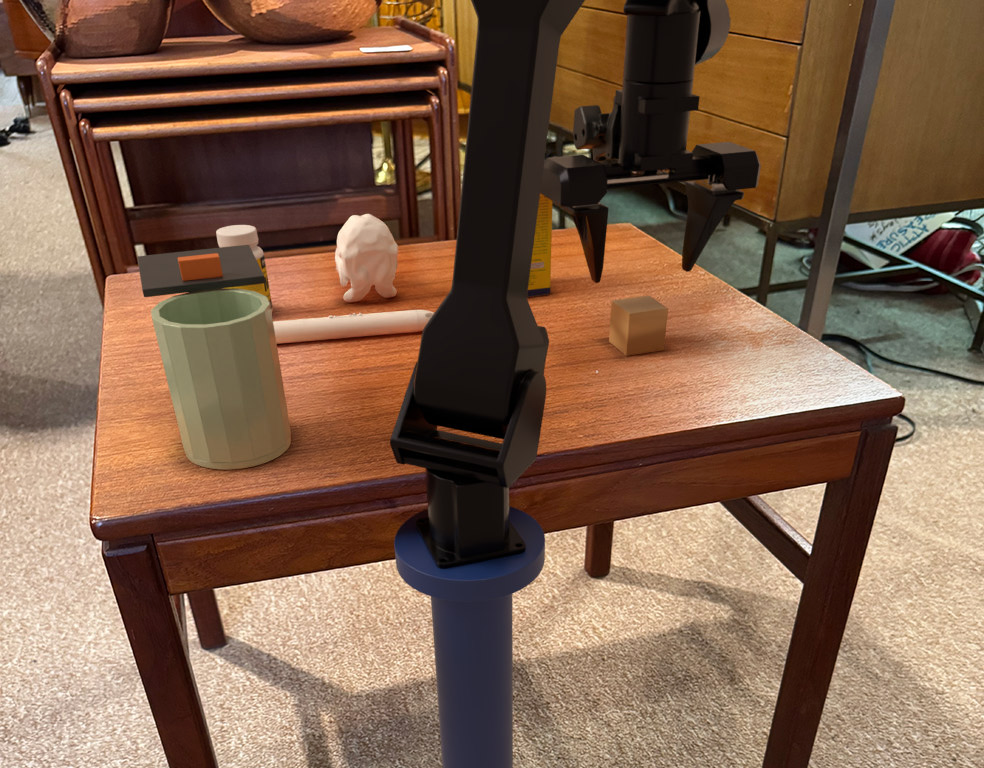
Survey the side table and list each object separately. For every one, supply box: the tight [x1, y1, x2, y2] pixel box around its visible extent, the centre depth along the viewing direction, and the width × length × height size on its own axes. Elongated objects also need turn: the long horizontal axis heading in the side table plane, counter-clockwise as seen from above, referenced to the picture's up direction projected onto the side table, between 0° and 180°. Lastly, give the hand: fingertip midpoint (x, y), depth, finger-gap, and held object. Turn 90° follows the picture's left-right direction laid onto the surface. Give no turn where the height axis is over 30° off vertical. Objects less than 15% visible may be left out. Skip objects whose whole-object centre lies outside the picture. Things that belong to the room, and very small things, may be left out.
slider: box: [136, 245, 265, 298], centre depth 73 cm, size 9×9×2 cm
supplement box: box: [527, 194, 554, 298], centre depth 101 cm, size 6×6×11 cm
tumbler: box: [150, 288, 292, 471], centre depth 72 cm, size 8×8×11 cm
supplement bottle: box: [215, 224, 274, 313], centre depth 97 cm, size 5×5×8 cm
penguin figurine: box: [334, 213, 399, 303], centre depth 102 cm, size 6×8×12 cm
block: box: [608, 294, 669, 357], centre depth 89 cm, size 4×4×4 cm
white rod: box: [273, 309, 435, 345], centre depth 93 cm, size 18×2×2 cm, turn 101°
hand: (641, 276), depth 86 cm, fingers open, 9 cm apart
